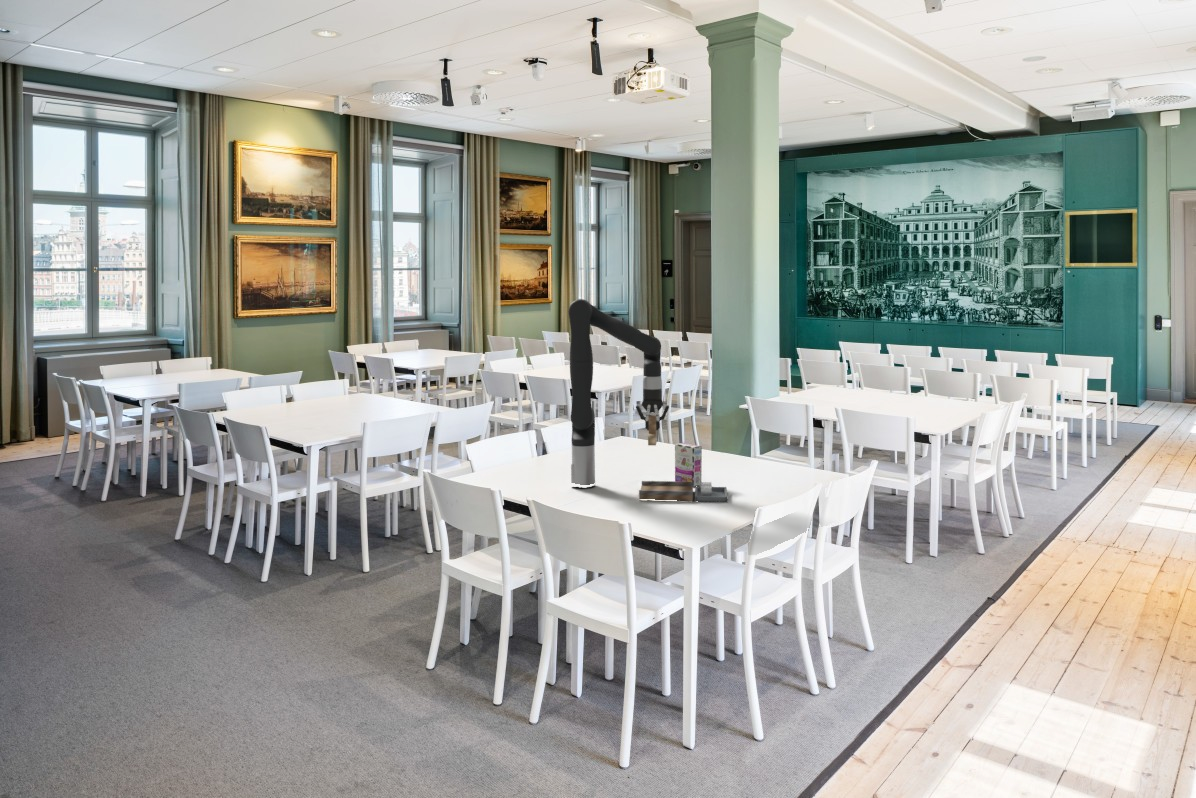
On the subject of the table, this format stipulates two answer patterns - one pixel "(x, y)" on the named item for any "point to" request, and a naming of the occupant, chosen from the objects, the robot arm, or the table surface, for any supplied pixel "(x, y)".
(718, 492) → the tray
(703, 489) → the gray cube
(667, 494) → the slot board
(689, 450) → the candy bar box
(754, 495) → the table surface
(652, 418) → the tan stepped block
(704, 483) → the grey cube
